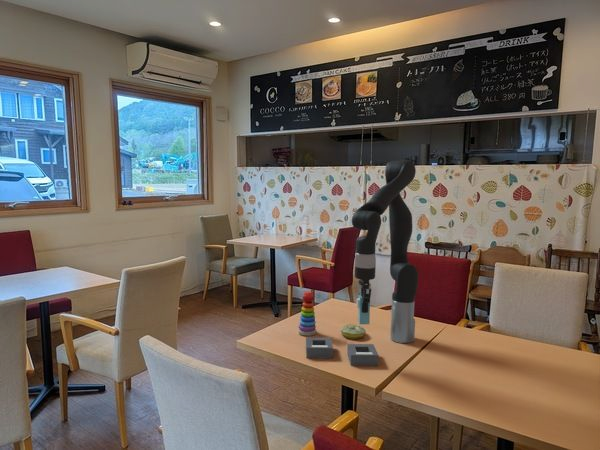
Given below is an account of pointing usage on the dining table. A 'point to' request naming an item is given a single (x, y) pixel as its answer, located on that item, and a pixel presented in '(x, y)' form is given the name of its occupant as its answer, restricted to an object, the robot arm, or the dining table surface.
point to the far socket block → (319, 348)
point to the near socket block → (362, 355)
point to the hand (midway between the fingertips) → (363, 310)
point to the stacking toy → (307, 315)
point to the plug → (362, 317)
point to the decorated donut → (353, 331)
